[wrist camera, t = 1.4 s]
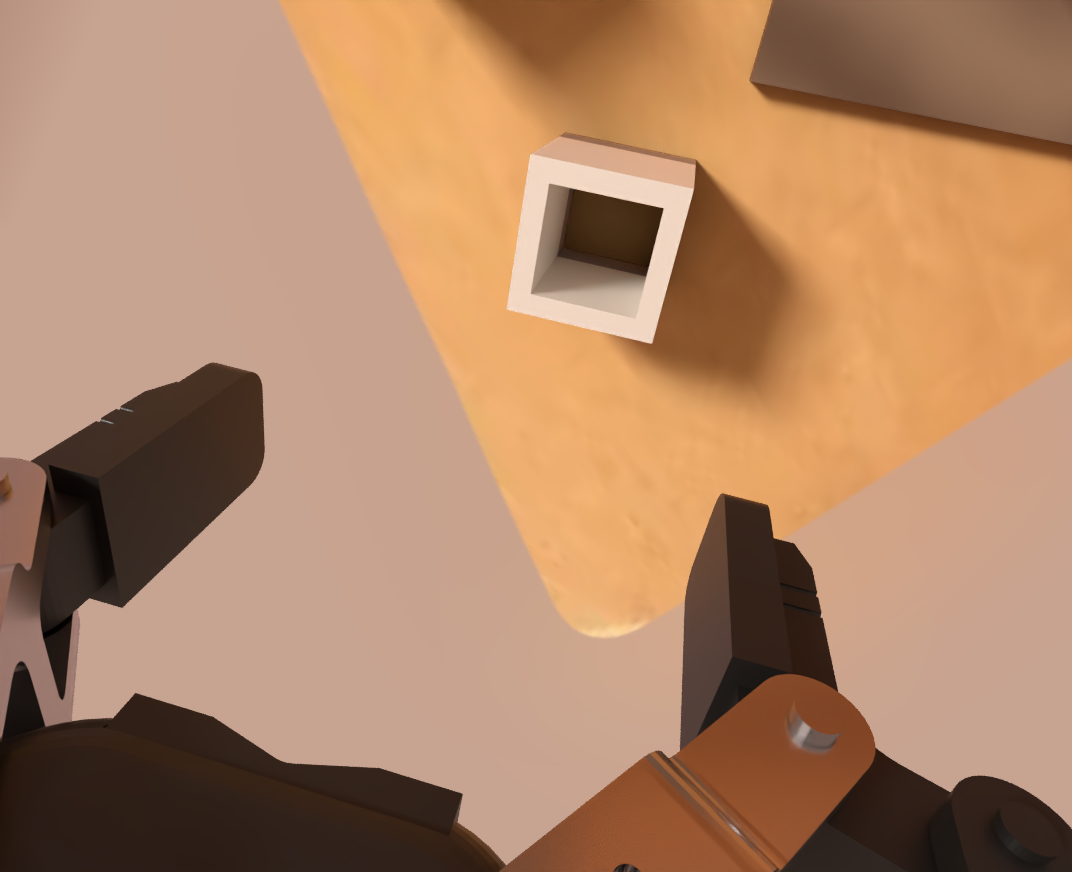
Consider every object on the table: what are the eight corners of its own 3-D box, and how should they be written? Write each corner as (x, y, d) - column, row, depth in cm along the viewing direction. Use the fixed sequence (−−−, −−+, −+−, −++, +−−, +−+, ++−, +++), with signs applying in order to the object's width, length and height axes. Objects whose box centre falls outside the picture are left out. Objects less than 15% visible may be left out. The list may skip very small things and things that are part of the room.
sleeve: (565, 132, 30) (530, 153, 24) (696, 159, 29) (693, 189, 23) (543, 261, 32) (506, 309, 26) (661, 288, 32) (651, 344, 26)
